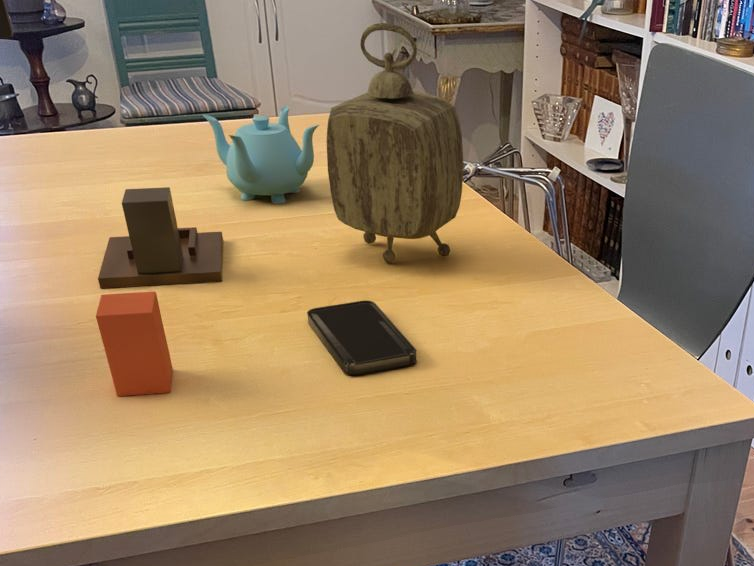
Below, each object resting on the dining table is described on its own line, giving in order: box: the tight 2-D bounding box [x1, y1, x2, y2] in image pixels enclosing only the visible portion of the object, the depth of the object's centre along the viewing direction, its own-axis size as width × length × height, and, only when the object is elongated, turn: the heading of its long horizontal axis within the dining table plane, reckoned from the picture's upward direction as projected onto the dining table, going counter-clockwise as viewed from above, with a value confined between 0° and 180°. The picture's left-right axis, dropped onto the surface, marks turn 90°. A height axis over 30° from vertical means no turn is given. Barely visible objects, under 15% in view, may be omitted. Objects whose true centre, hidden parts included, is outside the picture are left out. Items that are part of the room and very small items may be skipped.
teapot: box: [202, 105, 320, 205], centre depth 133 cm, size 13×13×10 cm
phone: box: [306, 299, 418, 376], centre depth 99 cm, size 8×1×15 cm
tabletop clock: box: [326, 22, 465, 265], centre depth 110 cm, size 14×9×25 cm, turn 66°
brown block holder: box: [97, 186, 224, 289], centre depth 113 cm, size 14×14×9 cm
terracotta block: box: [95, 291, 174, 397], centre depth 90 cm, size 5×5×8 cm
